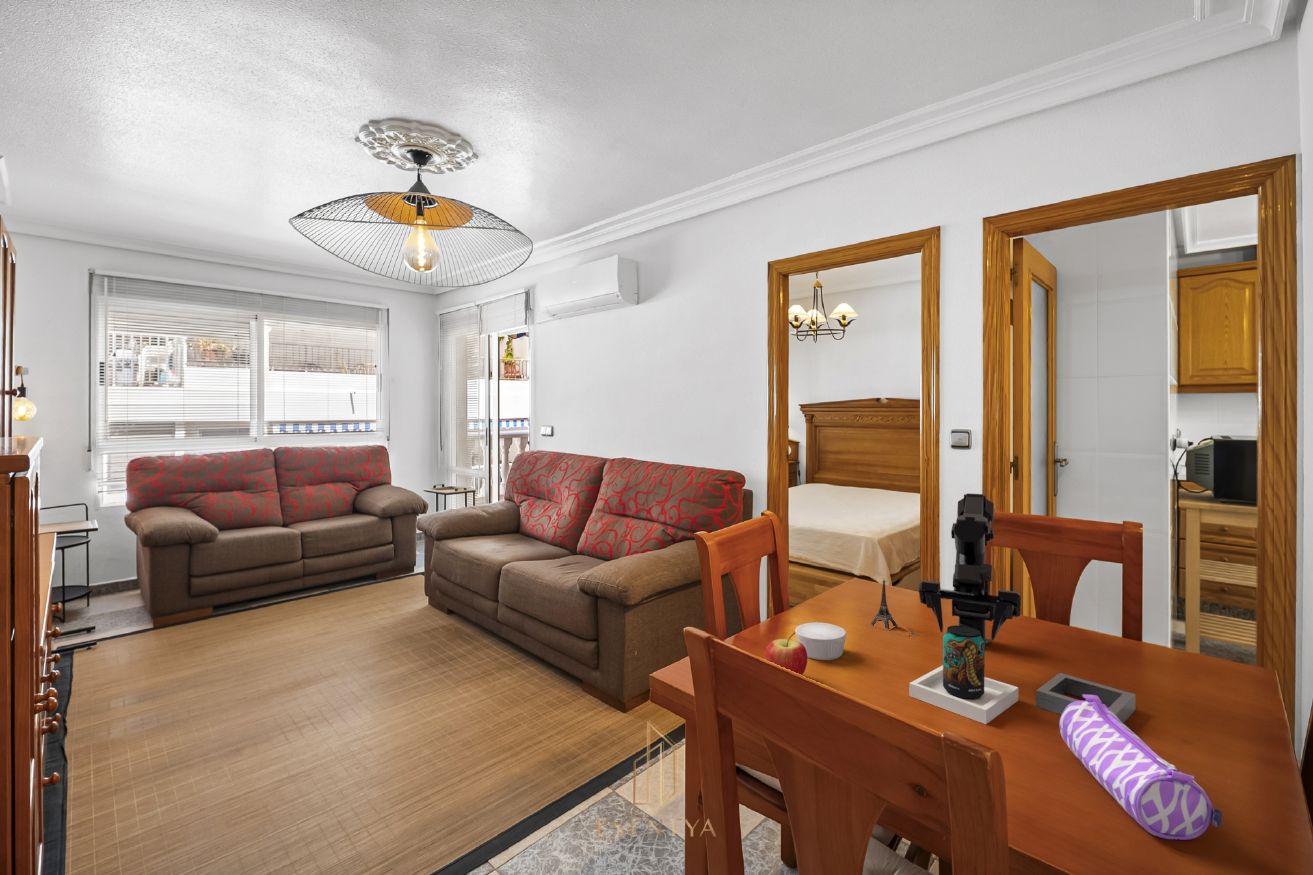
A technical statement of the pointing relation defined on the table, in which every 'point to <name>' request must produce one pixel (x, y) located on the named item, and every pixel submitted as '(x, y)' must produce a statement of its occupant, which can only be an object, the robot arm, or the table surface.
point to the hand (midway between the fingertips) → (966, 635)
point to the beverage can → (963, 662)
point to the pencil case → (1136, 773)
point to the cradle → (979, 709)
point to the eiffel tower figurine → (884, 612)
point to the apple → (788, 654)
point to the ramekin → (821, 640)
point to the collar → (1060, 684)
